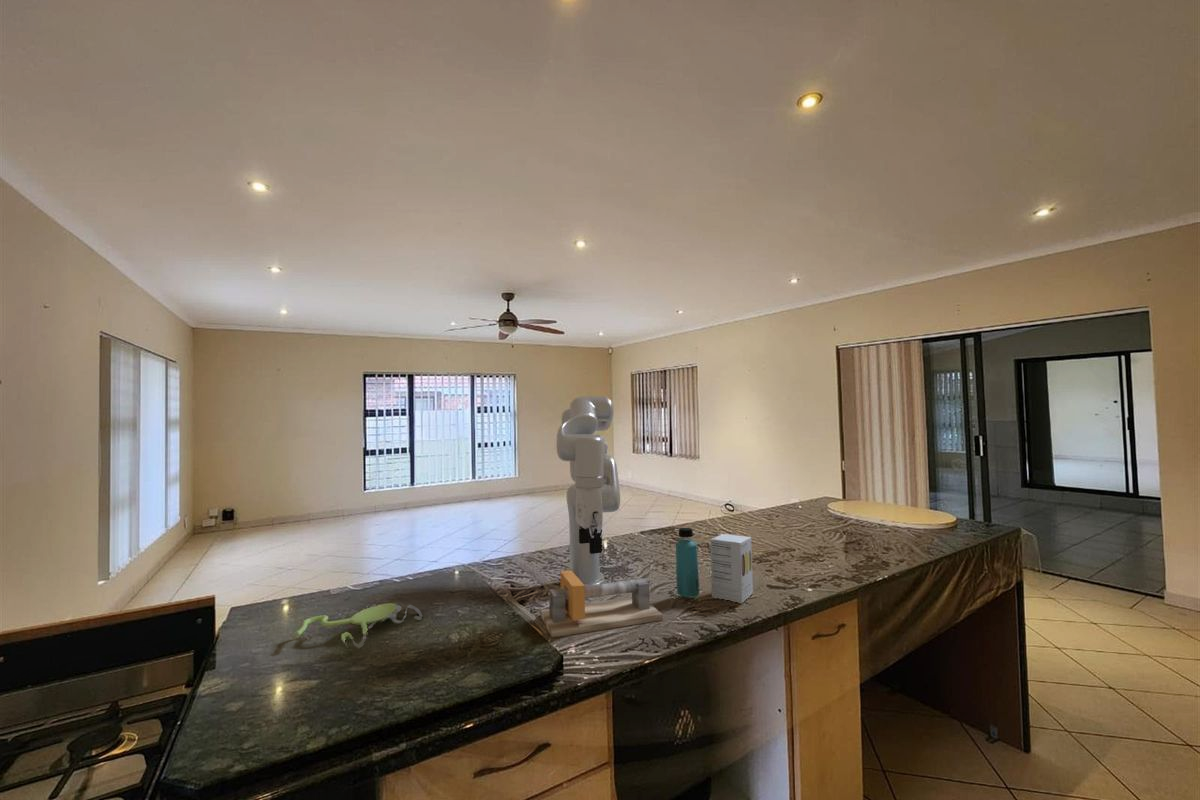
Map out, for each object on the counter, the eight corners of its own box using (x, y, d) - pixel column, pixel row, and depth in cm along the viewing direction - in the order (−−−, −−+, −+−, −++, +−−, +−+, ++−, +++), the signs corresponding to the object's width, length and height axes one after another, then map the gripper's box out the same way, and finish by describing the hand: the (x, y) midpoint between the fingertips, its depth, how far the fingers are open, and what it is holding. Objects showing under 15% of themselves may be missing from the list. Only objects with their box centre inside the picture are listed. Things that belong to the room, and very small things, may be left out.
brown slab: (560, 601, 123) (560, 571, 124) (571, 600, 124) (571, 570, 125) (573, 620, 111) (572, 586, 112) (584, 618, 112) (584, 585, 113)
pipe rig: (540, 615, 122) (540, 582, 123) (640, 601, 131) (640, 570, 132) (551, 637, 109) (551, 600, 109) (662, 620, 118) (661, 585, 118)
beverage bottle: (699, 603, 129) (697, 531, 130) (675, 602, 130) (674, 530, 131) (699, 595, 135) (697, 526, 136) (676, 593, 136) (675, 525, 138)
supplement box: (742, 605, 127) (740, 543, 128) (711, 598, 133) (709, 538, 134) (753, 594, 135) (751, 536, 136) (723, 588, 140) (722, 532, 141)
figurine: (284, 648, 106) (285, 623, 106) (382, 607, 130) (382, 587, 131) (338, 664, 98) (339, 637, 99) (431, 617, 123) (431, 596, 123)
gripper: (567, 479, 129) (568, 541, 128) (585, 488, 112) (585, 559, 111) (593, 477, 131) (593, 538, 130) (613, 486, 114) (614, 555, 114)
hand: (590, 547), depth 121 cm, fingers open, 9 cm apart
